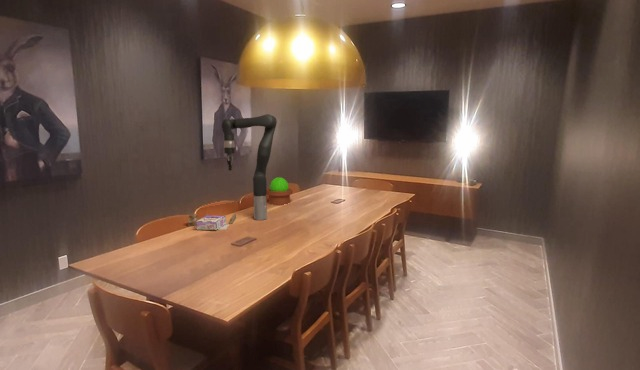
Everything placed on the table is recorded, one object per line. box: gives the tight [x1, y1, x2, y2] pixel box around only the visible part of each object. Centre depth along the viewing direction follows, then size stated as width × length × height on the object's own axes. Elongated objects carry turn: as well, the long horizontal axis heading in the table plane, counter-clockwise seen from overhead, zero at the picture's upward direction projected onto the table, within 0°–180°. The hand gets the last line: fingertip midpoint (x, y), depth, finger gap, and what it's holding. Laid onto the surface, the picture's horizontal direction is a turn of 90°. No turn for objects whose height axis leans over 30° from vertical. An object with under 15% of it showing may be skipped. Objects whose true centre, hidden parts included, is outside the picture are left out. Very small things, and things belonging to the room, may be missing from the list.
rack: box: [203, 213, 237, 225], centre depth 254 cm, size 21×17×4 cm
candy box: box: [196, 214, 227, 231], centre depth 236 cm, size 14×6×16 cm
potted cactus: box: [266, 176, 293, 206], centre depth 311 cm, size 22×22×25 cm
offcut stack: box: [187, 213, 199, 227], centre depth 244 cm, size 5×8×7 cm, turn 4°
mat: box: [197, 224, 230, 231], centre depth 236 cm, size 18×12×1 cm, turn 94°
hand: (230, 170), depth 266 cm, fingers closed
